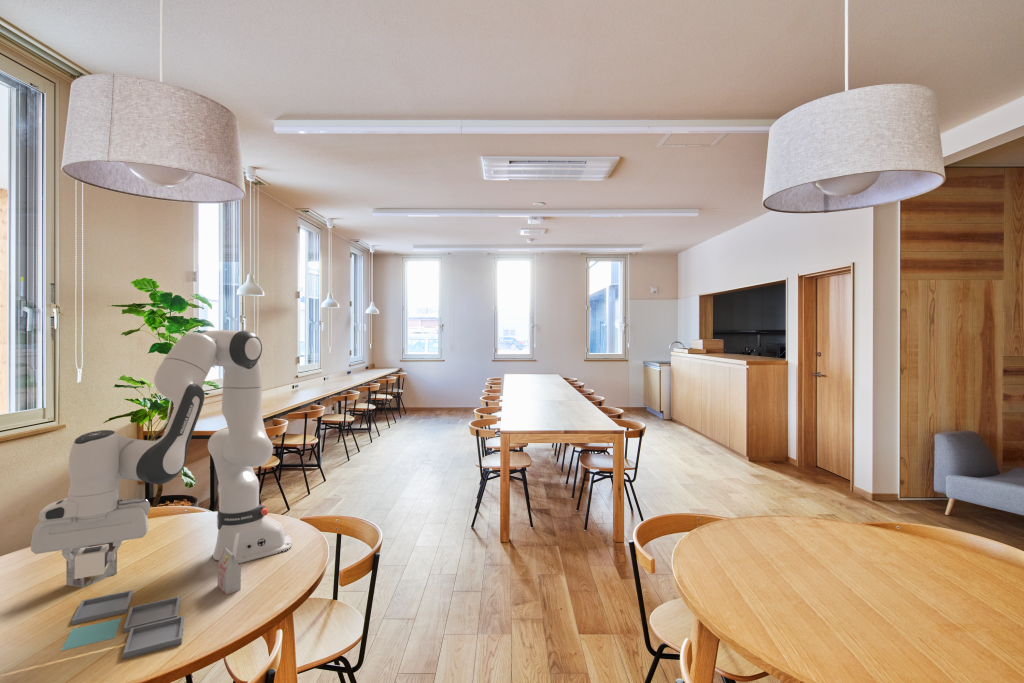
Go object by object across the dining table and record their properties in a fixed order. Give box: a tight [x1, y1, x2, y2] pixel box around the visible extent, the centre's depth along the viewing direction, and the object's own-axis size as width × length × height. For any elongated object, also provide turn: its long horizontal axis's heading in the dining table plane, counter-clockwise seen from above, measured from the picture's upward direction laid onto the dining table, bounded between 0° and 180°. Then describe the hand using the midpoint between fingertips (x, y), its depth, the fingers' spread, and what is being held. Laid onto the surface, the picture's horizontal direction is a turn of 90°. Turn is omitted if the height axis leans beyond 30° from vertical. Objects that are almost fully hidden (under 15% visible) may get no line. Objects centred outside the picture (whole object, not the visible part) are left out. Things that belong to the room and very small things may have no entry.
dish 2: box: [122, 595, 181, 634], centre depth 117 cm, size 10×10×1 cm
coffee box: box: [65, 542, 118, 588], centre depth 135 cm, size 9×6×16 cm
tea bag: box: [217, 548, 242, 596], centre depth 132 cm, size 4×7×10 cm, turn 47°
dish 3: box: [122, 615, 185, 660], centre depth 109 cm, size 10×10×1 cm
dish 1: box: [70, 589, 134, 626], centre depth 120 cm, size 10×10×1 cm
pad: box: [60, 617, 122, 652], centre depth 110 cm, size 9×9×1 cm
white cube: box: [75, 544, 109, 579], centre depth 110 cm, size 5×5×5 cm
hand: (92, 563), depth 110 cm, fingers closed on white cube, 5 cm apart
